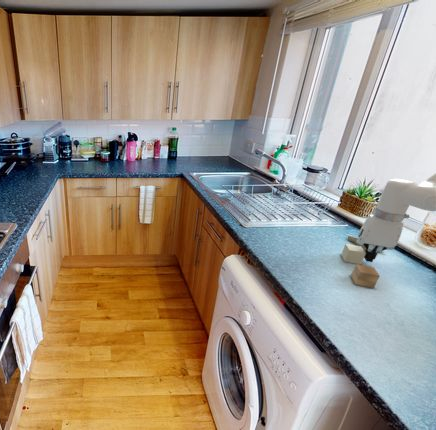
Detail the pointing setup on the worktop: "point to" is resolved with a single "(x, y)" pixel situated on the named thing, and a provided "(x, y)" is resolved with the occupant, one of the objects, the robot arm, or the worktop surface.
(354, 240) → the shard
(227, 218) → the worktop surface
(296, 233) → the worktop surface
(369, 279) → the maple block
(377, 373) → the worktop surface
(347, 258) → the cream block
